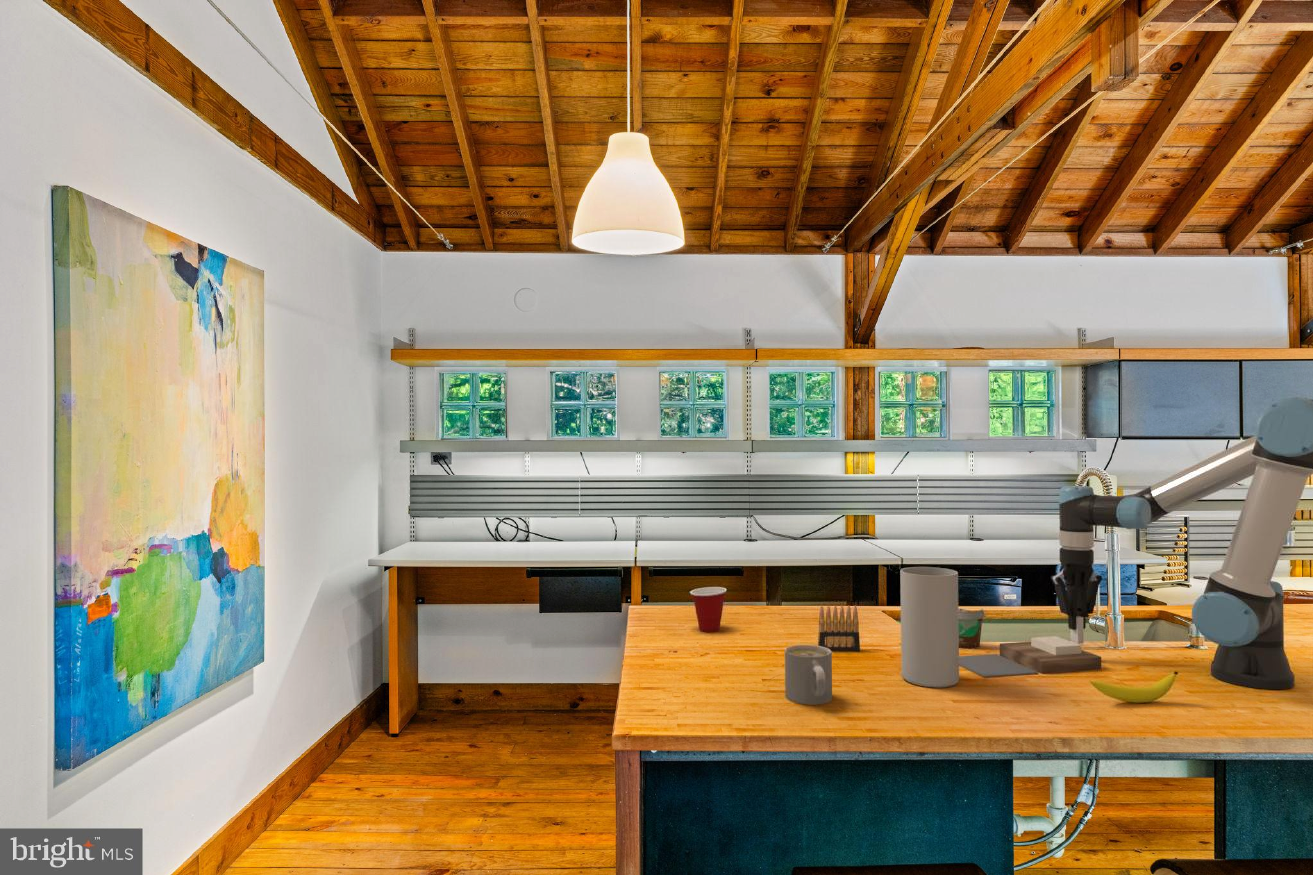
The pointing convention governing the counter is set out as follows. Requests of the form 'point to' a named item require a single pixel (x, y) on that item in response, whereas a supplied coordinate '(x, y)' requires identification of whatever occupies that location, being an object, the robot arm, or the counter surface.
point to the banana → (1137, 690)
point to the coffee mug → (808, 674)
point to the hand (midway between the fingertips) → (1077, 642)
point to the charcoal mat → (993, 666)
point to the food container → (970, 628)
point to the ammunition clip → (839, 630)
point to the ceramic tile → (1056, 645)
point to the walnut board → (1048, 659)
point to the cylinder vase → (929, 626)
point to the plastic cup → (709, 607)
